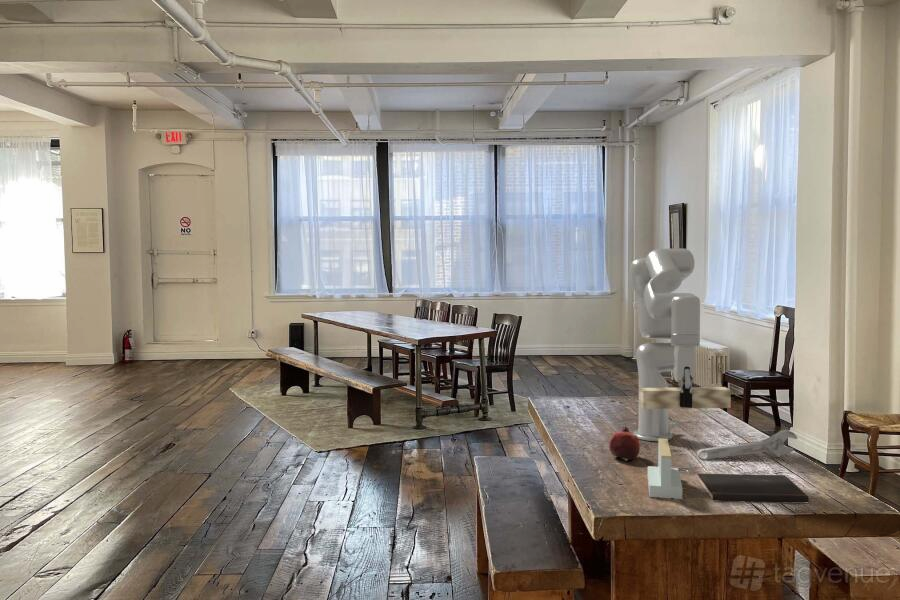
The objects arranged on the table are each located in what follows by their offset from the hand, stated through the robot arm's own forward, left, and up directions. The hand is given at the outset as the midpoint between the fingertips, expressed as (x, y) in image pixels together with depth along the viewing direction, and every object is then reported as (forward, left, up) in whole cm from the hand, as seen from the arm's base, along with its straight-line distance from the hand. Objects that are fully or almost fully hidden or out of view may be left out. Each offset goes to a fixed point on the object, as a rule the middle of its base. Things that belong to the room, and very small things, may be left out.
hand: (684, 404), depth 194 cm
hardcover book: (-4, +18, -21) cm, 28 cm away
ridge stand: (+13, +4, -20) cm, 24 cm away
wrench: (-28, 0, -20) cm, 34 cm away
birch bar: (0, 0, -1) cm, 1 cm away
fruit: (+3, -20, -20) cm, 28 cm away
